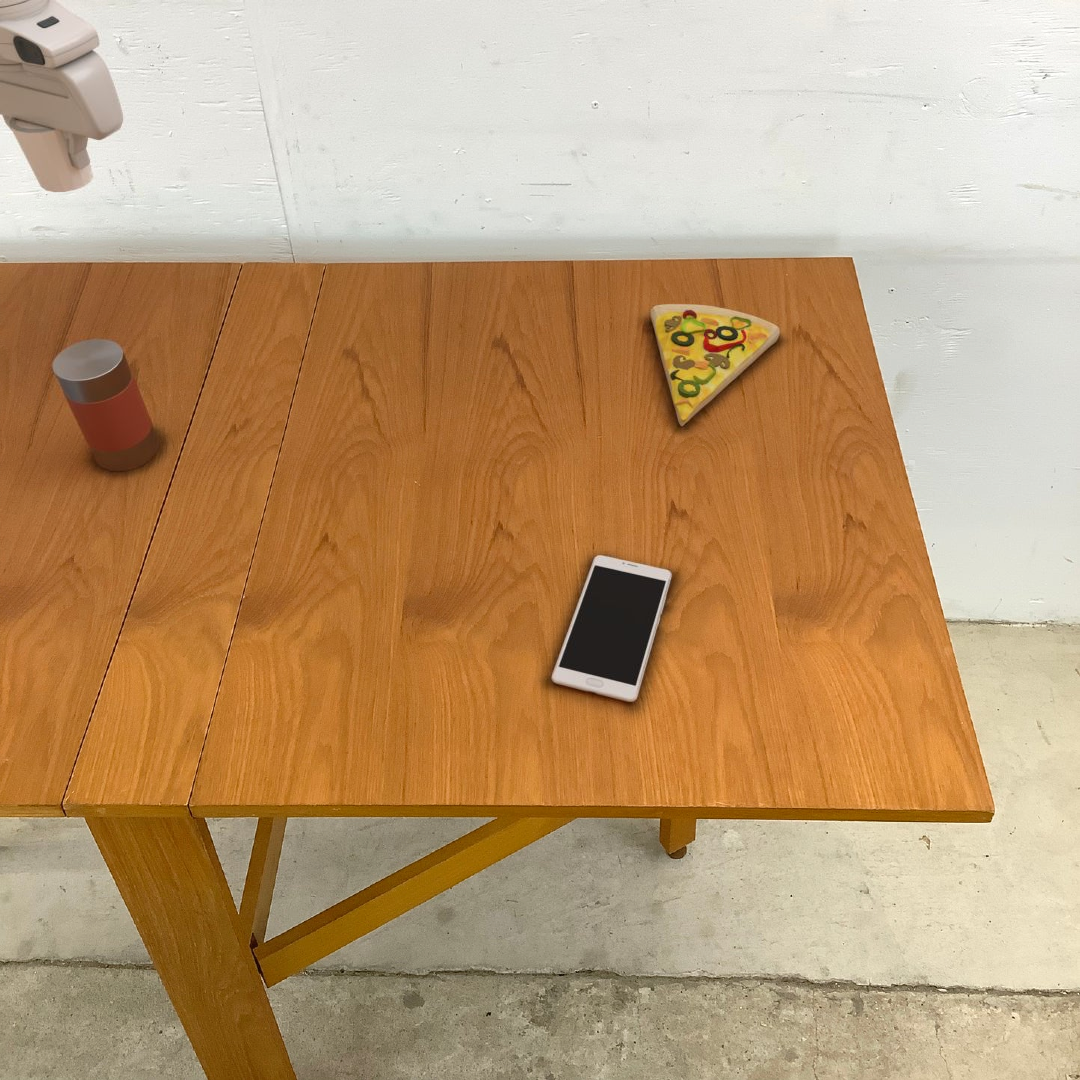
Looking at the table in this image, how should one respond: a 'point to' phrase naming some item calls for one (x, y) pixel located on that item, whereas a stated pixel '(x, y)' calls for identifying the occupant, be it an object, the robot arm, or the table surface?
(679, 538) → the table surface
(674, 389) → the pizza slice
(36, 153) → the shot glass
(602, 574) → the smartphone
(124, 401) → the tin can
